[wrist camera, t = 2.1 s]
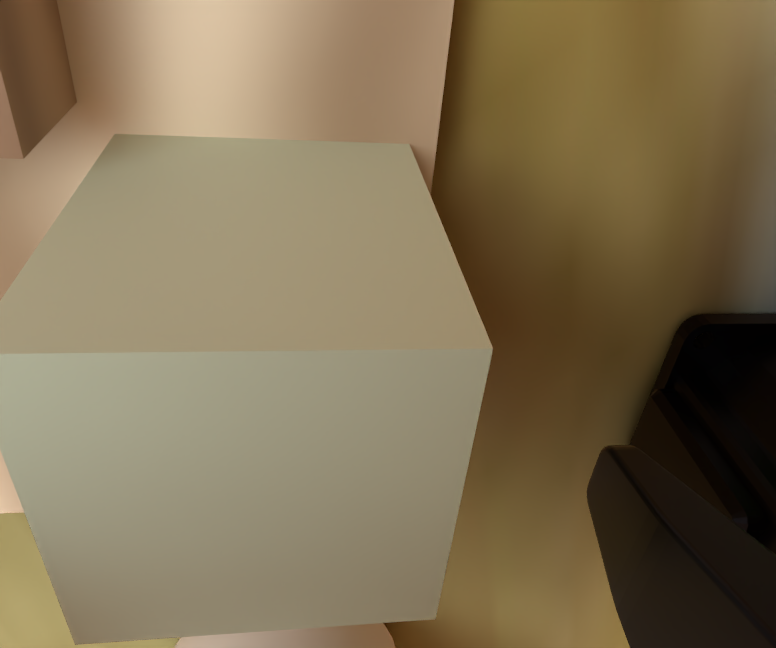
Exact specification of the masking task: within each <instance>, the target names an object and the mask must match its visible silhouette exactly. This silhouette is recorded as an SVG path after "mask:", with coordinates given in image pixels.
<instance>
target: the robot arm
mask: <svg viewBox="0 0 776 648" xmlns="http://www.w3.org/2000/svg"><path fill="white" fill-rule="evenodd" d="M701 333H703V334H702V335H701V336H700V337H698V338H696V337H697V336H698V335H700V334H701ZM695 338H696V339H695ZM587 501H588V505H589V509H590V513H591V517H592V521H593V525H594V528H595V532H596V536H597V540H598V544H599V547H600V551H601V555H602V559H603V563H604V566H605V570H606V574H607V578H608V582H609V585H610V589H611V593H612V596H613V600H614V603H615V607H616V610H617V613H618V616H619V618H620V621H621V624H622V627H623V630H624V632H625V635H626V638H627V640H628V643H629V646H630V648H776V314H701V315H696V316H693V317H691V318H689V319H687V320H686V321H684V322H683V323H682V324H681V325H680V326H679V328H678V330H677V331H676V334H675V336H674V338H673V341H672V343H671V346H670V348H669V351H668V353H667V355H666V358H665V360H664V363H663V365H662V368H661V370H660V372H659V375H658V377H657V380H656V382H655V385H654V387H653V389H652V392H651V394H650V397H649V399H648V401H647V404H646V406H645V409H644V411H643V413H642V416H641V418H640V421H639V423H638V426H637V428H636V430H635V433H634V435H633V438H632V440H631V443H630V445H615V446H606V447H604V448H603V449H602V450H601V452H600V454H599V457H598V460H597V462H596V465H595V468H594V470H593V473H592V476H591V478H590V481H589V484H588V488H587Z"/></svg>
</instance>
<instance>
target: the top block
mask: <svg viewBox="0 0 776 648" xmlns="http://www.w3.org/2000/svg"><path fill="white" fill-rule="evenodd" d="M492 352H493V347H492V345H491V342H490V340H489V337H488V335H487V332H486V330H485V327H484V325H483V323H482V320H481V318H480V315H479V313H478V310H477V308H476V305H475V303H474V301H473V298H472V296H471V293H470V291H469V288H468V286H467V284H466V281H465V279H464V276H463V274H462V271H461V269H460V266H459V264H458V262H457V259H456V257H455V254H454V252H453V249H452V247H451V244H450V242H449V240H448V237H447V235H446V232H445V230H444V227H443V225H442V223H441V220H440V218H439V215H438V213H437V210H436V208H435V205H434V203H433V201H432V198H431V196H430V193H429V191H428V188H427V186H426V183H425V181H424V179H423V176H422V174H421V171H420V169H419V166H418V164H417V162H416V159H415V157H414V154H413V152H412V149H411V147H410V144H396V143H367V142H338V141H309V140H280V139H251V138H222V137H193V136H164V135H135V134H114V136H113V137H112V138H111V140H110V141H109V143H108V144H107V146H106V147H105V149H104V150H103V152H102V153H101V154H100V156H99V157H98V159H97V160H96V162H95V163H94V165H93V166H92V168H91V169H90V171H89V172H88V173H87V175H86V176H85V178H84V179H83V181H82V182H81V184H80V185H79V187H78V188H77V189H76V191H75V192H74V194H73V195H72V197H71V198H70V200H69V201H68V203H67V204H66V206H65V207H64V208H63V210H62V211H61V213H60V214H59V216H58V217H57V219H56V220H55V222H54V223H53V224H52V226H51V227H50V229H49V230H48V232H47V233H46V235H45V236H44V238H43V239H42V241H41V242H40V243H39V245H38V246H37V248H36V249H35V251H34V252H33V254H32V255H31V257H30V258H29V259H28V261H27V262H26V264H25V265H24V267H23V268H22V270H21V271H20V273H19V274H18V275H17V277H16V278H15V280H14V281H13V283H12V284H11V286H10V287H9V289H8V290H7V292H6V293H5V294H4V296H3V297H2V299H1V300H0V451H1V453H2V456H3V458H4V461H5V464H6V466H7V469H8V471H9V474H10V477H11V479H12V482H13V484H14V487H15V490H16V492H17V495H18V497H19V500H20V502H21V505H22V508H23V510H24V513H25V515H26V518H27V521H28V523H29V526H30V528H31V531H32V534H33V536H34V539H35V541H36V544H37V547H38V549H39V552H40V554H41V557H42V560H43V562H44V565H45V567H46V570H47V573H48V575H49V578H50V580H51V583H52V586H53V588H54V591H55V593H56V596H57V599H58V601H59V604H60V606H61V609H62V612H63V614H64V617H65V619H66V622H67V625H68V627H69V630H70V632H71V635H72V638H73V640H74V643H75V645H77V644H91V643H106V642H120V641H134V640H148V639H162V638H177V637H191V636H205V635H219V634H234V633H248V632H262V631H276V630H290V629H305V628H319V627H333V626H347V625H361V624H376V623H390V622H404V621H418V620H433V619H436V614H437V610H438V605H439V600H440V596H441V591H442V586H443V581H444V577H445V572H446V567H447V563H448V558H449V553H450V549H451V544H452V539H453V535H454V530H455V525H456V521H457V516H458V511H459V506H460V502H461V497H462V492H463V488H464V483H465V478H466V474H467V469H468V464H469V460H470V455H471V450H472V446H473V441H474V436H475V431H476V427H477V422H478V417H479V413H480V408H481V403H482V399H483V394H484V389H485V385H486V380H487V375H488V371H489V366H490V361H491V356H492Z"/></svg>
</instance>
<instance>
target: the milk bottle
mask: <svg viewBox="0 0 776 648" xmlns="http://www.w3.org/2000/svg"><path fill="white" fill-rule="evenodd" d="M174 648H395V645H394V641H393V638H392V636H391V635H390V633H389V631H388V629H387V628H386V626H385V625H384V624H383V623H376V624H361V625H347V626H333V627H319V628H305V629H290V630H276V631H262V632H248V633H234V634H219V635H205V636H191V637H180V639H179V641H178V642H177V644H176V646H175V647H174Z"/></svg>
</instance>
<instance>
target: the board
mask: <svg viewBox="0 0 776 648" xmlns="http://www.w3.org/2000/svg"><path fill="white" fill-rule="evenodd" d="M57 4H58V9H59V14H60V19H61V24H62V29H63V35H64V40H65V45H66V50H67V55H68V60H69V65H70V70H71V75H72V80H73V85H74V90H75V95H76V100H77V103H76V104H75V105H74V106H73V107H72V108H71V109H70V110H69V111H68V112H67V113H66V114H65V115H64V117H63V118H62V119H61V120H60V121H59V122H58V123H57V124H56V125H55V126H54V127H53V128H52V129H51V130H50V131H49V132H48V134H47V135H46V136H45V137H44V138H43V139H42V140H41V141H40V142H39V143H38V144H37V145H36V146H35V147H34V148H33V150H32V151H31V152H30V153H29V154H28V155H27V156H26V157H25V158H24V159H7V158H0V300H1V299H2V297H3V296H4V294H5V293H6V292H7V290H8V289H9V287H10V286H11V284H12V283H13V281H14V280H15V278H16V277H17V275H18V274H19V273H20V271H21V270H22V268H23V267H24V265H25V264H26V262H27V261H28V259H29V258H30V257H31V255H32V254H33V252H34V251H35V249H36V248H37V246H38V245H39V243H40V242H41V241H42V239H43V238H44V236H45V235H46V233H47V232H48V230H49V229H50V227H51V226H52V224H53V223H54V222H55V220H56V219H57V217H58V216H59V214H60V213H61V211H62V210H63V208H64V207H65V206H66V204H67V203H68V201H69V200H70V198H71V197H72V195H73V194H74V192H75V191H76V189H77V188H78V187H79V185H80V184H81V182H82V181H83V179H84V178H85V176H86V175H87V173H88V172H89V171H90V169H91V168H92V166H93V165H94V163H95V162H96V160H97V159H98V157H99V156H100V154H101V153H102V152H103V150H104V149H105V147H106V146H107V144H108V143H109V141H110V140H111V138H112V137H113V136H114V134H135V135H164V136H193V137H222V138H251V139H280V140H309V141H338V142H367V143H396V144H410V147H411V149H412V152H413V154H414V157H415V159H416V162H417V164H418V166H419V169H420V171H421V174H422V176H423V179H424V181H425V183H426V186H427V188H428V191H429V193H430V196H431V188H432V180H433V172H434V164H435V156H436V147H437V139H438V131H439V123H440V115H441V106H442V98H443V90H444V82H445V74H446V65H447V57H448V49H449V41H450V33H451V24H452V16H453V8H454V0H57ZM17 512H24V510H23V508H22V505H21V502H20V500H19V497H18V495H17V492H16V490H15V487H14V484H13V482H12V479H11V477H10V474H9V471H8V469H7V466H6V464H5V461H4V458H3V456H2V453H1V451H0V513H17Z"/></svg>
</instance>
